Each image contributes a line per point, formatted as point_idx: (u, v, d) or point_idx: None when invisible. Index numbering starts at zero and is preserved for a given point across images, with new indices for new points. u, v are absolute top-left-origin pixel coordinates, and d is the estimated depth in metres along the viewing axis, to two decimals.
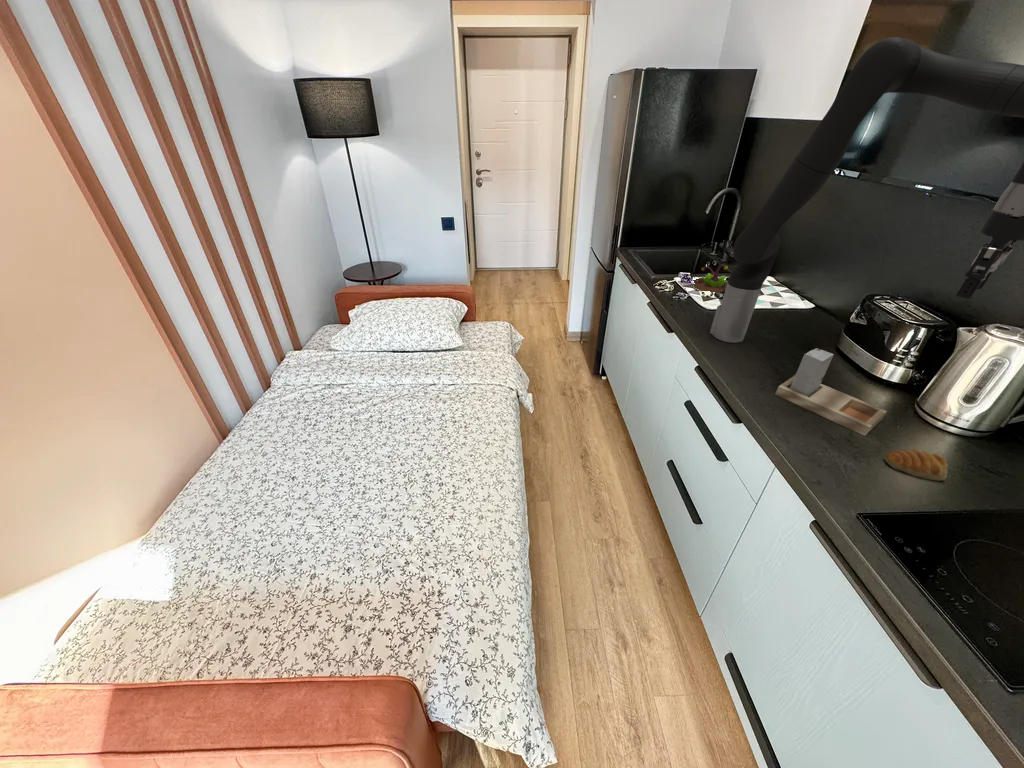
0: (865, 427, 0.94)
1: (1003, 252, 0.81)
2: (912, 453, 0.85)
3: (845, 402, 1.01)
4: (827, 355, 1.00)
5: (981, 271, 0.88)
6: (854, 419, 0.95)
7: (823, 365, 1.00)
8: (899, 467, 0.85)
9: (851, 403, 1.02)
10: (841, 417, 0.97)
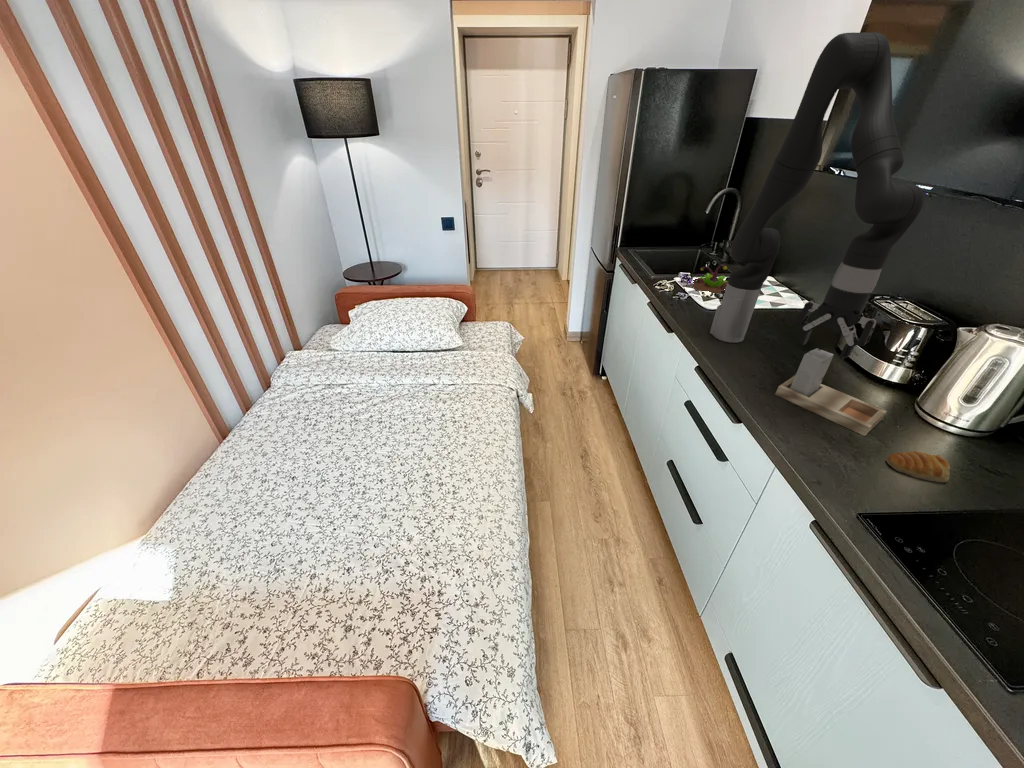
0: (865, 427, 0.94)
1: None
2: (915, 454, 0.85)
3: (845, 402, 1.01)
4: (828, 355, 1.00)
5: (809, 331, 1.00)
6: (854, 419, 0.95)
7: (823, 365, 1.00)
8: (901, 469, 0.84)
9: (851, 403, 1.02)
10: (841, 417, 0.97)
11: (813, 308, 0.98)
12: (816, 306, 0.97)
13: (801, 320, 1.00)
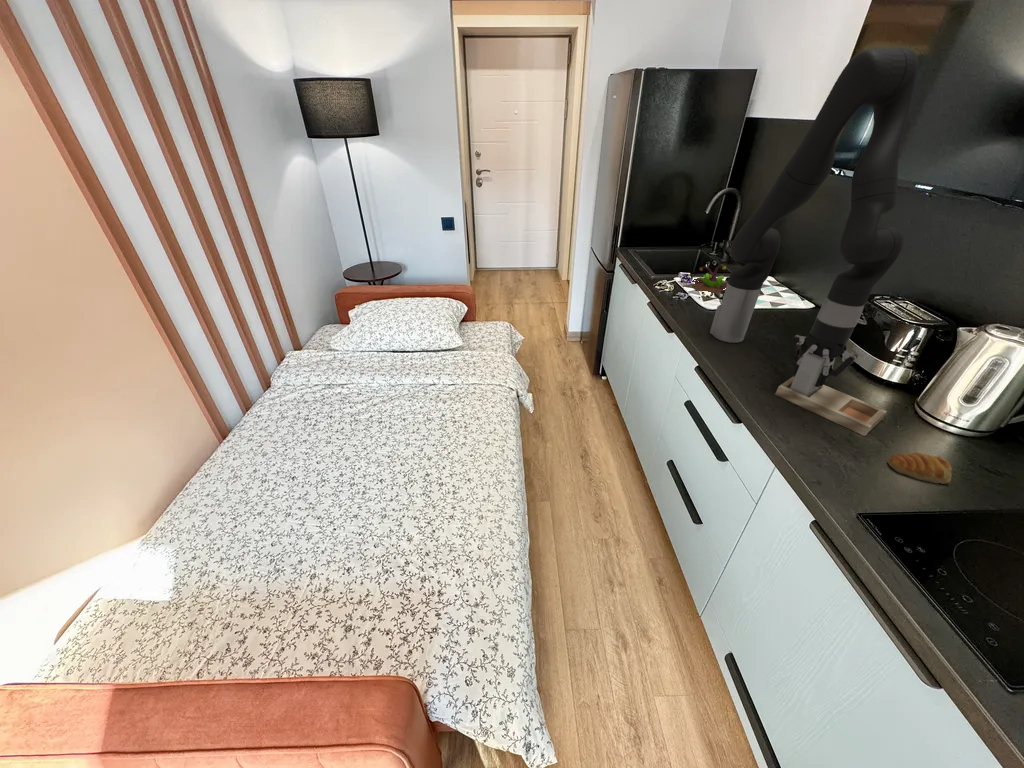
0: (865, 427, 0.94)
1: None
2: (916, 456, 0.85)
3: (845, 402, 1.01)
4: None
5: None
6: (854, 419, 0.95)
7: None
8: (903, 471, 0.84)
9: (851, 403, 1.02)
10: (841, 417, 0.97)
11: (800, 341, 1.03)
12: (802, 338, 1.02)
13: (794, 354, 1.04)
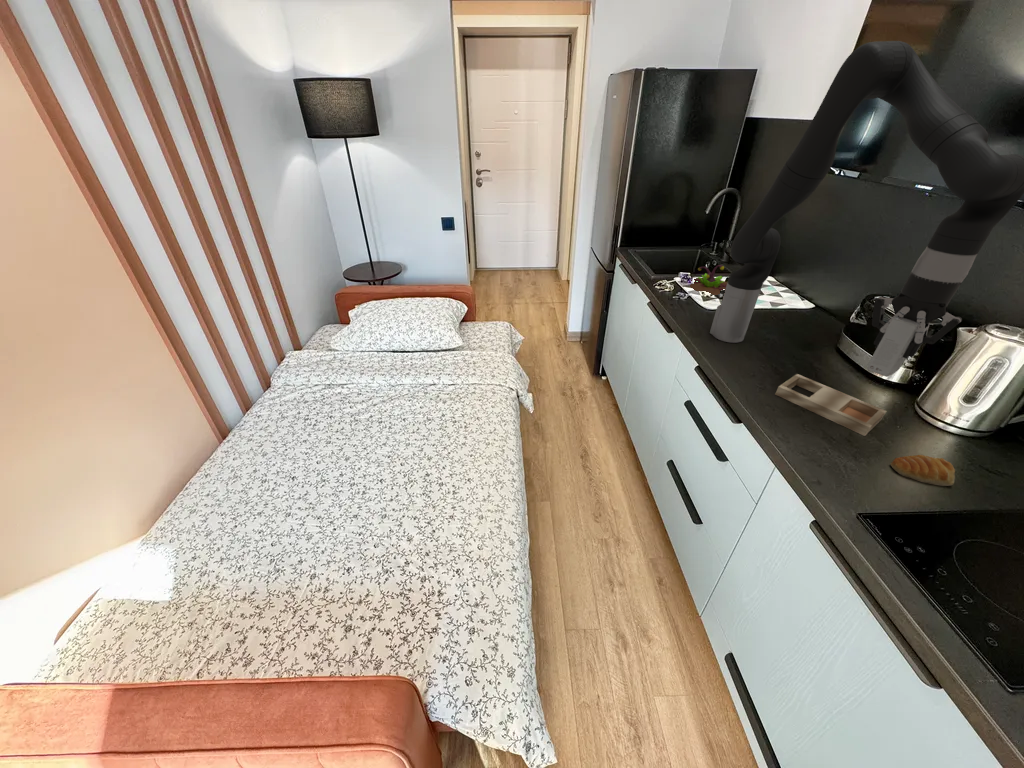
0: (865, 427, 0.94)
1: None
2: (919, 458, 0.84)
3: (845, 402, 1.01)
4: None
5: None
6: (854, 419, 0.95)
7: None
8: (906, 474, 0.83)
9: (851, 403, 1.02)
10: (841, 417, 0.97)
11: (886, 304, 0.87)
12: (889, 301, 0.86)
13: (877, 320, 0.88)
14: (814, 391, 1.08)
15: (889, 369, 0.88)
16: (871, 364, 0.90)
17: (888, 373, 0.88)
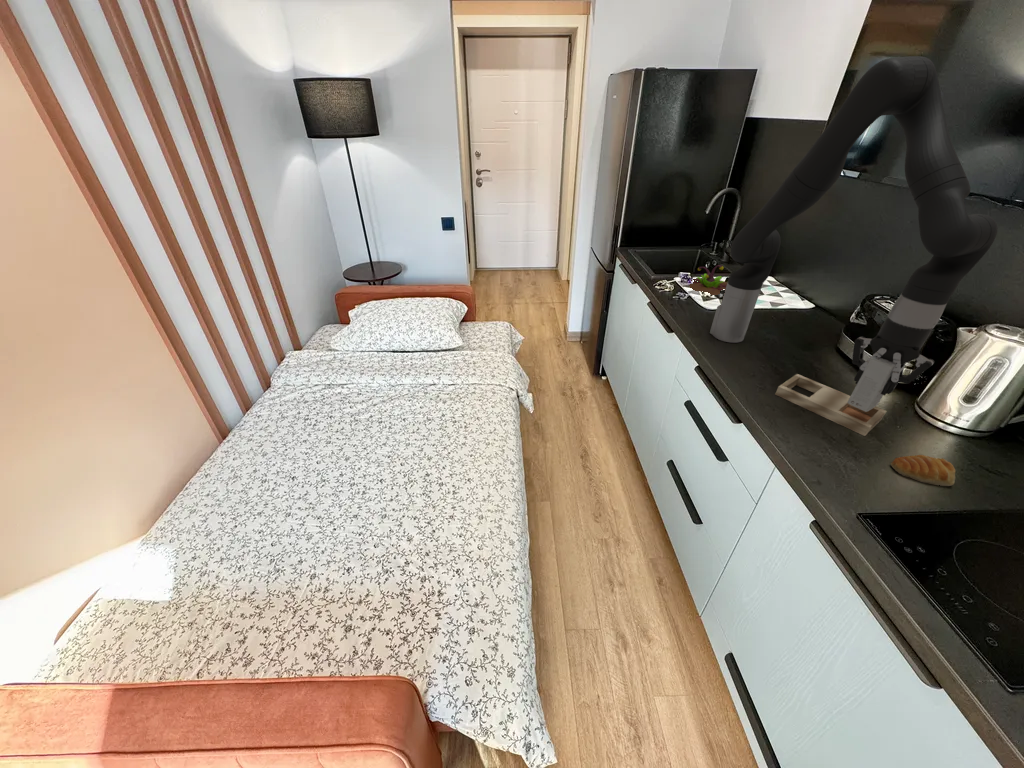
0: (865, 427, 0.94)
1: None
2: (919, 458, 0.84)
3: (845, 402, 1.01)
4: None
5: None
6: (854, 419, 0.95)
7: None
8: (906, 474, 0.83)
9: None
10: (841, 417, 0.97)
11: (865, 344, 0.92)
12: (868, 341, 0.92)
13: (857, 358, 0.94)
14: (814, 391, 1.08)
15: (868, 405, 0.93)
16: (852, 399, 0.96)
17: (867, 408, 0.94)
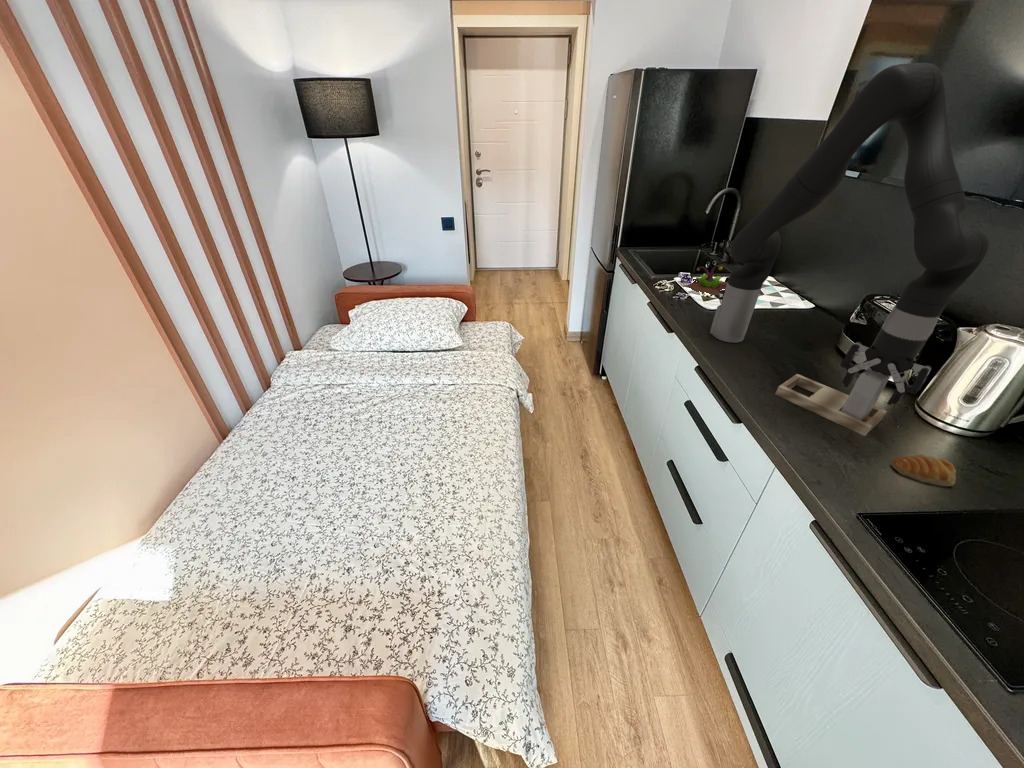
0: (865, 427, 0.94)
1: None
2: (920, 458, 0.84)
3: None
4: None
5: (854, 374, 0.96)
6: (854, 419, 0.95)
7: (881, 386, 0.92)
8: (906, 473, 0.83)
9: None
10: (841, 417, 0.97)
11: (860, 351, 0.93)
12: (863, 349, 0.93)
13: (846, 362, 0.96)
14: (814, 391, 1.08)
15: None
16: None
17: None
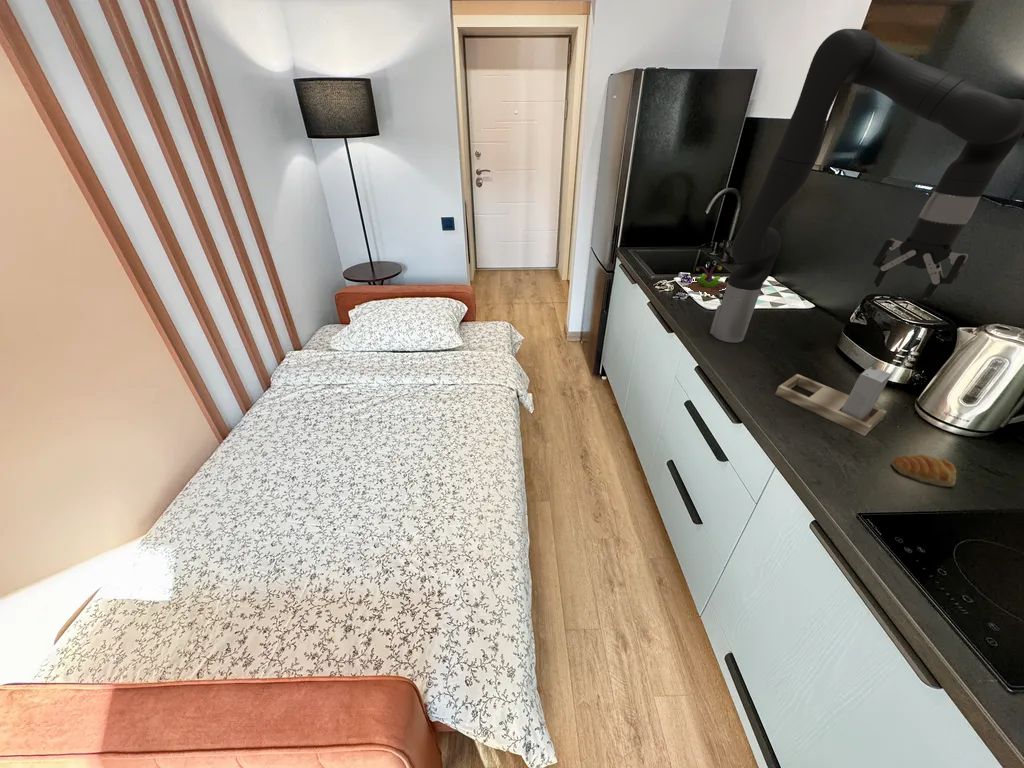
0: (865, 427, 0.94)
1: None
2: (920, 458, 0.84)
3: None
4: (885, 375, 0.92)
5: (886, 272, 0.95)
6: (854, 419, 0.95)
7: (881, 386, 0.92)
8: (906, 473, 0.84)
9: None
10: (841, 417, 0.97)
11: (894, 246, 0.92)
12: (898, 243, 0.92)
13: (879, 260, 0.95)
14: (814, 391, 1.08)
15: None
16: None
17: None
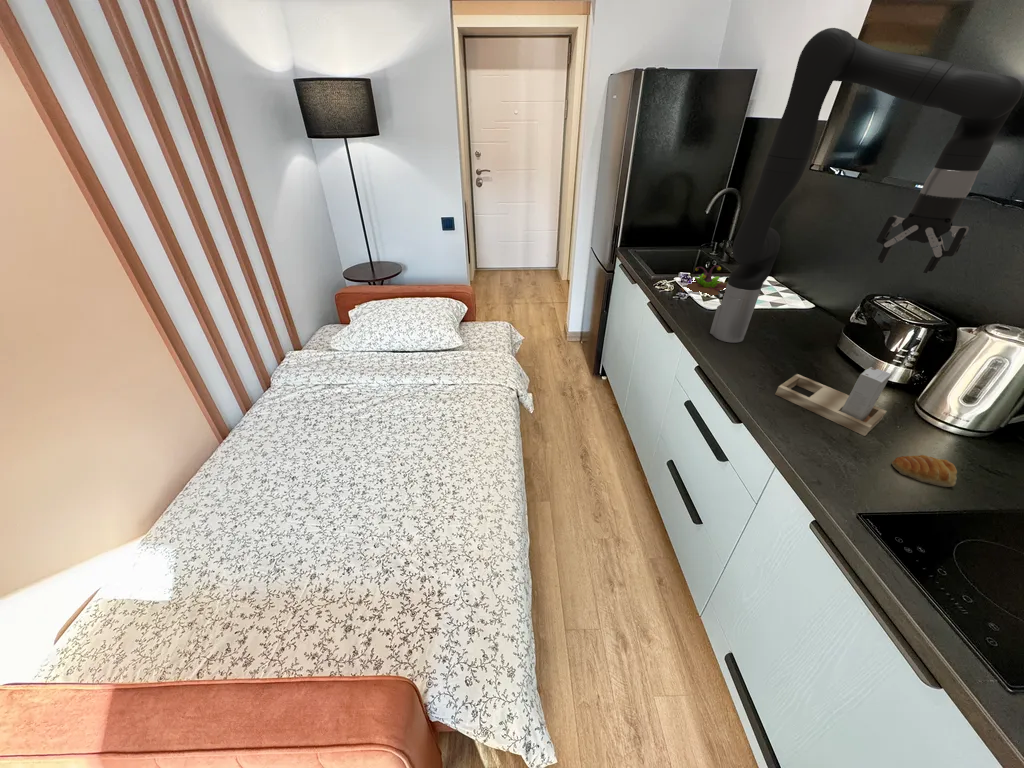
0: (865, 427, 0.94)
1: None
2: (921, 458, 0.84)
3: None
4: (885, 375, 0.92)
5: (890, 248, 0.99)
6: (854, 419, 0.95)
7: (881, 386, 0.92)
8: (906, 473, 0.84)
9: None
10: (841, 417, 0.97)
11: (897, 222, 0.96)
12: (900, 220, 0.96)
13: (882, 236, 0.99)
14: (814, 391, 1.08)
15: None
16: None
17: None
